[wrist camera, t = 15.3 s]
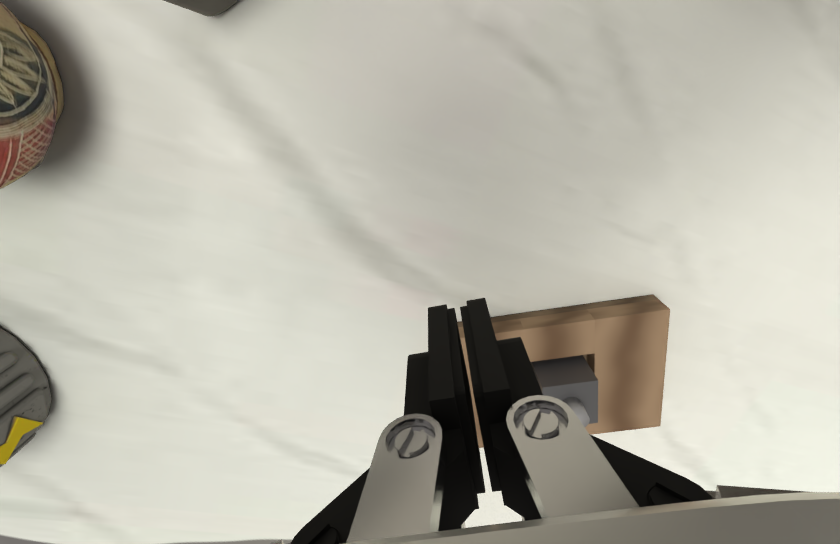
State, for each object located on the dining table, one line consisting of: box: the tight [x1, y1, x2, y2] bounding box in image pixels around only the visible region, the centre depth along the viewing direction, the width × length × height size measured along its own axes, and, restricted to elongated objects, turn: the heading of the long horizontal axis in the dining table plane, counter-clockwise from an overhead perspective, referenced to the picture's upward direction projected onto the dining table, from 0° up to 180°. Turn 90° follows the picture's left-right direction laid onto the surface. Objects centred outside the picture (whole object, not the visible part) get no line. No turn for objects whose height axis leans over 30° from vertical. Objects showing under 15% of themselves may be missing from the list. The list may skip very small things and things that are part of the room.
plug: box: [531, 355, 598, 427], centre depth 40 cm, size 5×5×7 cm
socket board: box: [457, 295, 670, 448], centre depth 42 cm, size 20×14×3 cm
